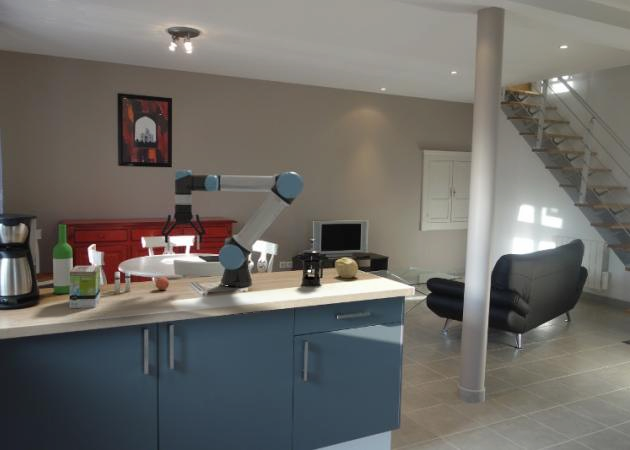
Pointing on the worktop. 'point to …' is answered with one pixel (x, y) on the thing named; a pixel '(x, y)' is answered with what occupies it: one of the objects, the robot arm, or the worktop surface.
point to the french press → (311, 279)
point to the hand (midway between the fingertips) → (183, 249)
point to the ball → (162, 283)
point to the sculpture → (346, 267)
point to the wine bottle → (62, 263)
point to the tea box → (84, 286)
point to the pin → (117, 283)
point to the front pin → (127, 282)
